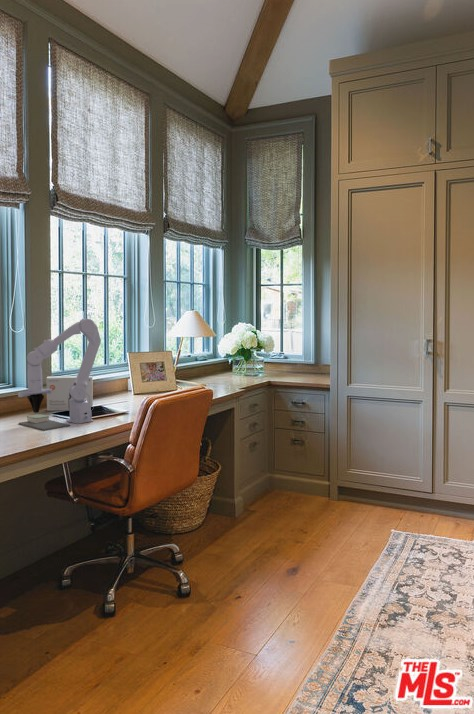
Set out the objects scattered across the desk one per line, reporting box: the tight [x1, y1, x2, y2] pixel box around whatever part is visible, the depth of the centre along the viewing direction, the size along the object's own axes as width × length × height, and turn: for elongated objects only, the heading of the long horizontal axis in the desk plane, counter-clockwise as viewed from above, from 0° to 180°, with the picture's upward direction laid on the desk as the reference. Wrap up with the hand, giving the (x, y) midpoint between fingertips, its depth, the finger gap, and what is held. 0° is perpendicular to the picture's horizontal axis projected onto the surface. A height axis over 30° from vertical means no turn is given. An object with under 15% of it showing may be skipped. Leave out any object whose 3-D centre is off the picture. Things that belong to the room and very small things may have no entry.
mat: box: [17, 419, 71, 432], centre depth 249 cm, size 20×12×1 cm, turn 48°
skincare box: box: [45, 375, 94, 412], centre depth 287 cm, size 21×5×16 cm, turn 101°
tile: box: [26, 413, 50, 423], centre depth 255 cm, size 7×2×6 cm
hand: (36, 412), depth 252 cm, fingers closed
